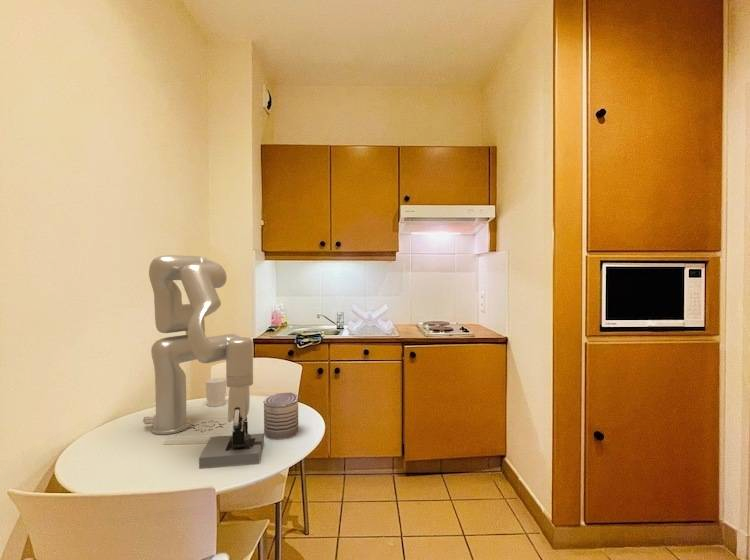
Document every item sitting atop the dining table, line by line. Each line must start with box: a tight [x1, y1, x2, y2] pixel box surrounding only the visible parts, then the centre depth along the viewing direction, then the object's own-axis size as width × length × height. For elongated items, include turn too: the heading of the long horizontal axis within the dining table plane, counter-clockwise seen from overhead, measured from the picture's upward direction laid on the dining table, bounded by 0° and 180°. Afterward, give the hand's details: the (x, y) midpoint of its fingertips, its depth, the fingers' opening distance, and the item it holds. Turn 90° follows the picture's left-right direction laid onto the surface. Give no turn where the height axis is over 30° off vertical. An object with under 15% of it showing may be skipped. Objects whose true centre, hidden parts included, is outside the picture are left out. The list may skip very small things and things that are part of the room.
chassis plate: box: [198, 432, 265, 469], centre depth 120 cm, size 16×14×3 cm
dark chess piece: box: [230, 418, 251, 450], centre depth 120 cm, size 6×6×12 cm
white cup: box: [205, 376, 227, 408], centre depth 165 cm, size 8×8×10 cm
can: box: [262, 392, 300, 441], centre depth 136 cm, size 11×11×12 cm
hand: (240, 439), depth 120 cm, fingers closed on dark chess piece, 5 cm apart
